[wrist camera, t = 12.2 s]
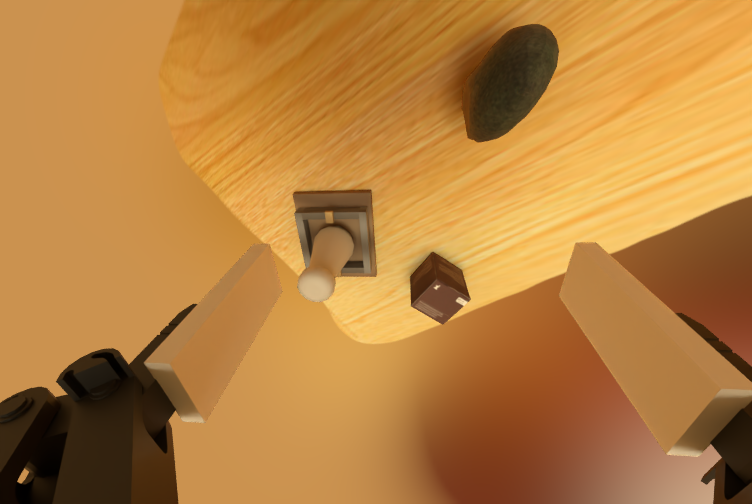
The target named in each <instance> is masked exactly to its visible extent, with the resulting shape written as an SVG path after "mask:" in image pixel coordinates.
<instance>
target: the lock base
mask: <svg viewBox="0 0 752 504" xmlns="http://www.w3.org/2000/svg"><path fill="white" fill-rule="evenodd" d="M293 198H294V203H295V207H296V212H295V213H294V214H295V219H296V224H297V228H298V233H299V238H300V243H301V247H302V252H303V257H304V262H305V266H306V268H308V267H309V264H310V260H311V255H312V250H313V245H314V239H315V236H316V235H317V234H318V233H319V231H320V230H321V229H324V228H326V227H329V226H332V227H334V226H341V227H342V228H344V229H345V230H346V231H348V232H349V233H350V235H351V237H352V240H353V243H354V249H353V254H352V256H351V257H350V258H349V260H348V261H347V263H346V264H345V265H344V267H343V268H342V269H341V271H340V272H339V273H338V275H337V276H336V277H341V276H353V277H376V275H377V270H376V255H375V240H374V225H373V210H372V195H371V190H360V191H317V192H295V193H294V194H293Z"/></svg>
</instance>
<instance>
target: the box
mask: <svg viewBox="0 0 752 504" xmlns="http://www.w3.org/2000/svg"><path fill="white" fill-rule="evenodd" d="M410 284H411V286H410V287H411V306H412V307H413V308H415V309H417V310H418V311H420V312H422V313H424V314H425V315H427V316H429V317H430V318H432V319H434V320H436V321H437V322H439V323H441V324H444V323H445V322H447V321H448V320H449V319H450V318H451V317H452V316H453V315H454V314H455V313H456V312H458V311H459V310H460V309H461V308H462V307H463V306H464V305H466V304H467V303H468V302H469V301H470V300H471V299H470V296H469V293H468V290H467V286H466V283H465V280H464V276H463V273H462V270H460V269H459V268H457V267H456V266H454V265H453V264H451V263H449V262H448V261H446V260H445V259H443V258H442V257H440V256H438V255H437V254H435V253H434V252H433V253H431V255H430V256H429V257H428V258H427V259H426V260H425V261H424V262H423V263H422V265H421V266H420V267H419V268H418V269H417V270H416V271H415V272H414V274H413V275H412V276H411V277H410Z"/></svg>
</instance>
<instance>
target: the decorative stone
mask: <svg viewBox="0 0 752 504" xmlns="http://www.w3.org/2000/svg"><path fill="white" fill-rule="evenodd" d="M558 53H559V49H558V44H557V40H556V38H555V36H554V35H553V33H552V32H551V31H550V30H549V29H548V28H546V27H545V26H542V25H540V24H530V25H525V26H520V27H516V28H513V29H511V30H509V31H508V32H507V33H505V34H504V35H503V36H502V37H501V38H500V39H499V40H498V41H497V42H496V43H495V44H494V45H493V46H492V48H491V49H490V50H489V52H488V53H487V54H486V56H485V57H484V58H483V60H482V61H481V63H480V64H479V66H478V67H477V68H476V69H475V70H474V71H473V72H472V73H471V75H470V76H469V77H468V78H467V80H466V82H465V86H464V89H463V96H462V111H463V114H464V118H465V124H466V131H467V136H468V138H469V139H471V140H475V141H476V142H484V141H489V140H493V139H497V138H499V137H501V136H503V135H504V134H506V133H508V132H509V131H510V130H511V129H512V128H513V127H514V126H516V125H517V124H518V123H519V122H520V121H521V120H522V119H523V118H525V117H526V116H527V114H528V113H529V112H530V111H531V110H532V108H533V107H534V106H535V105H536V103H537V102H538V100H539V99H540V97H541V96H542V95H543V93H544V92H545V90H546V88H547V86H548V84H549V82H550V80H551V78H552V76H553V74H554V71H555V69H556V67H557V60H558Z"/></svg>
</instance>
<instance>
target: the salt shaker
mask: <svg viewBox="0 0 752 504" xmlns="http://www.w3.org/2000/svg"><path fill="white" fill-rule="evenodd" d="M353 249H354V243H353V240H352V237H351V235H350V233H349V232H348V231H346V230H345V229H344V228H342V227H341V226H334V227H332V226H329V227H326V228H324V229H321V230H320V231H319V233H318V234H317V235H316V236H315V239H314V245H313V250H312V255H311V260H310V264H309V267H308V268H306V269H305V270H304V271H303V272H302V274H301V275H300V276H299V280H298V286H297V288H298V290H299V292H300V294H301V295H302V296H303V297H304V298H306V299H308V300H310V301H313V302H322V301H325V300H327V299H328V298H329V297H330V296H331V295H332V294H333V292H334V289H335V283H336V282H335V277H336V276H337V275H338V273H339V272H340V271H341V269H342V268H343V267H344V265H345V264H346V263H347V261H348V260H349V258H350V257H351V256H352V254H353Z"/></svg>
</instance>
